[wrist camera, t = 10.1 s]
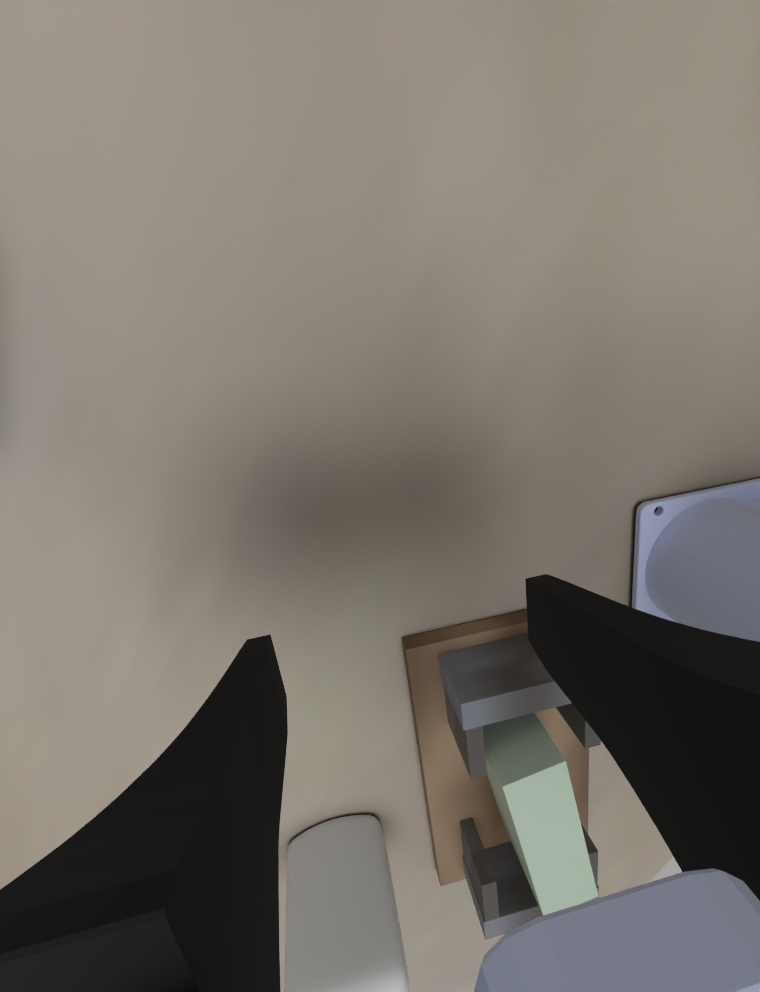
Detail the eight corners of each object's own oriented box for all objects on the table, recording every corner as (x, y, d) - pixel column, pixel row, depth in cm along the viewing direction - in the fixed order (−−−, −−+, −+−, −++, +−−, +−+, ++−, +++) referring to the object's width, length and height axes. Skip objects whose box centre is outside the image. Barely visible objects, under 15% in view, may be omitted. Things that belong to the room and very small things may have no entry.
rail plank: (514, 682, 24) (565, 760, 20) (547, 804, 28) (598, 896, 23) (463, 702, 24) (502, 786, 20) (503, 823, 28) (544, 919, 23)
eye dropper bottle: (369, 865, 28) (416, 1205, 17) (280, 862, 27) (267, 1228, 16) (390, 813, 27) (455, 1137, 16) (299, 806, 26) (299, 1156, 15)
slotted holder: (579, 597, 25) (636, 648, 21) (578, 827, 31) (623, 904, 26) (401, 637, 24) (423, 700, 19) (436, 869, 29) (459, 956, 25)
